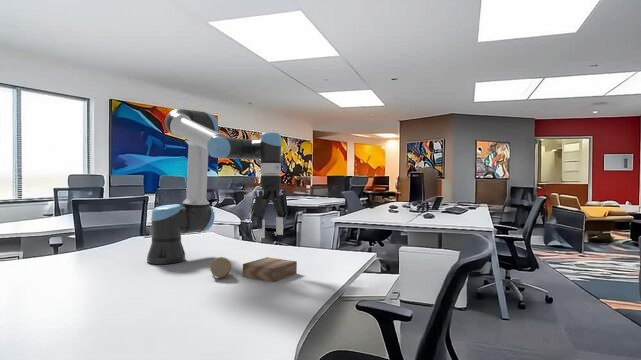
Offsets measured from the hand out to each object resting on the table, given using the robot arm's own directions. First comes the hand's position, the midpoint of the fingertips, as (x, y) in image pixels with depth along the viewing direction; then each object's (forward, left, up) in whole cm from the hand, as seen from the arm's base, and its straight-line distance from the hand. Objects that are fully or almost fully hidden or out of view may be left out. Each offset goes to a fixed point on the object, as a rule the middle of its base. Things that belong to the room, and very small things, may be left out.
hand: (270, 236), depth 144 cm
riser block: (0, 0, -15) cm, 15 cm away
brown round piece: (-16, -11, -15) cm, 24 cm away
